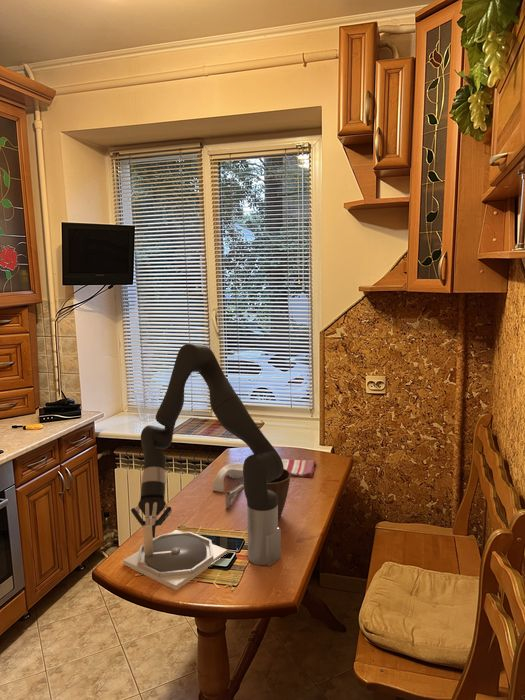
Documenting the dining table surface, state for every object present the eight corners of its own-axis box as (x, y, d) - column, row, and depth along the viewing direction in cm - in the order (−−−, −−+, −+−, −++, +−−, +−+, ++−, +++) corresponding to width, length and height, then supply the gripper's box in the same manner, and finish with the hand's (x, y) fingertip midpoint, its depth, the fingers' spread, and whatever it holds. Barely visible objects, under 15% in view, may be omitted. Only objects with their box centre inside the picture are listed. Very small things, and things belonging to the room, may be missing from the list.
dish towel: (312, 479, 216) (312, 473, 216) (257, 475, 220) (257, 469, 220) (315, 464, 233) (315, 458, 232) (264, 461, 237) (264, 455, 236)
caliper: (228, 509, 189) (228, 493, 188) (225, 509, 190) (225, 493, 189) (244, 486, 209) (244, 472, 208) (242, 486, 209) (241, 471, 208)
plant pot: (254, 530, 174) (253, 485, 171) (243, 510, 188) (243, 468, 185) (296, 524, 178) (296, 480, 175) (283, 505, 192) (282, 464, 189)
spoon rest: (231, 468, 227) (231, 453, 226) (256, 472, 223) (255, 456, 222) (205, 490, 206) (204, 473, 205) (231, 494, 201) (231, 477, 200)
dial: (205, 536, 167) (204, 507, 166) (208, 568, 149) (207, 536, 147) (146, 541, 164) (144, 512, 163) (142, 575, 146) (141, 542, 144)
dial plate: (227, 554, 159) (227, 545, 159) (176, 590, 142) (175, 580, 141) (176, 533, 172) (175, 525, 172) (123, 564, 154) (123, 555, 154)
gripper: (130, 480, 163) (125, 536, 153) (173, 479, 164) (170, 534, 154) (134, 489, 169) (129, 543, 159) (175, 487, 170) (172, 541, 160)
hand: (149, 539), depth 156 cm, fingers closed
